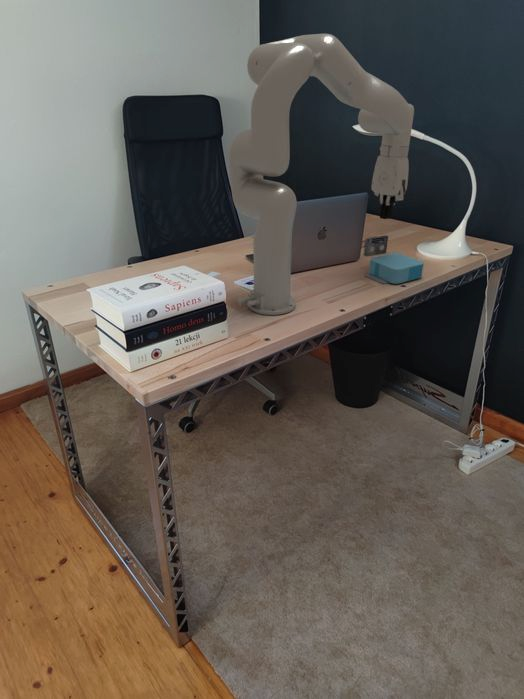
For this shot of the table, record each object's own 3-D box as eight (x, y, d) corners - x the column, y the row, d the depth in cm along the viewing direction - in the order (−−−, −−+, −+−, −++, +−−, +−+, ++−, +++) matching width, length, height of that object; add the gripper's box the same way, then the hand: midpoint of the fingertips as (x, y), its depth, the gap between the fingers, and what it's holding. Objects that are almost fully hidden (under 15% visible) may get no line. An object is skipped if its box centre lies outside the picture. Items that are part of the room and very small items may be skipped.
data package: (366, 272, 155) (394, 284, 146) (367, 258, 153) (396, 269, 144) (395, 265, 161) (423, 277, 152) (396, 252, 159) (426, 262, 150)
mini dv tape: (383, 252, 175) (385, 234, 172) (386, 253, 174) (388, 236, 171) (363, 255, 172) (365, 237, 169) (366, 256, 171) (368, 239, 168)
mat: (383, 284, 148) (383, 283, 147) (364, 276, 154) (364, 275, 153) (419, 274, 155) (419, 273, 154) (400, 267, 161) (400, 266, 160)
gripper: (366, 149, 145) (358, 214, 154) (404, 155, 134) (394, 225, 143) (385, 149, 149) (377, 212, 157) (424, 154, 138) (413, 222, 146)
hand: (385, 218), depth 150 cm, fingers closed
